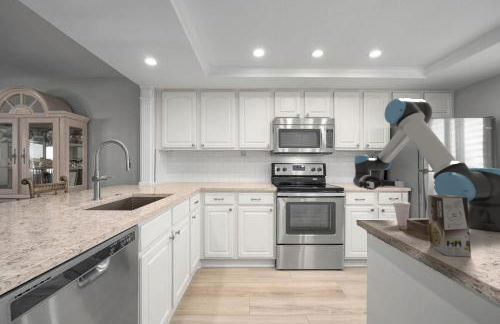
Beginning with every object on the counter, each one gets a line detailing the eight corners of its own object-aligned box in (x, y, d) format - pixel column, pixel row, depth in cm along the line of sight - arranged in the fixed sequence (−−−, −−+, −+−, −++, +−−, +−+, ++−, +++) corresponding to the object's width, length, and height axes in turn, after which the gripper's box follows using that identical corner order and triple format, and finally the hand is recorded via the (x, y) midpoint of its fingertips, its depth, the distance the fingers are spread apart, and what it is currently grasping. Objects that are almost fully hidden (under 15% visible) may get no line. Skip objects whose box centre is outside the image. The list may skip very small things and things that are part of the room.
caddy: (436, 228, 100) (435, 217, 100) (468, 239, 84) (468, 226, 84) (399, 229, 101) (399, 218, 101) (425, 240, 85) (424, 227, 85)
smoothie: (397, 227, 105) (396, 193, 105) (391, 223, 111) (390, 191, 112) (414, 227, 104) (412, 193, 104) (407, 224, 110) (405, 191, 111)
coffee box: (472, 257, 69) (468, 197, 69) (445, 256, 70) (442, 197, 70) (452, 246, 78) (449, 194, 78) (429, 246, 79) (426, 194, 79)
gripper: (392, 188, 139) (415, 192, 118) (346, 189, 141) (361, 193, 119) (392, 174, 139) (415, 176, 118) (345, 176, 141) (360, 177, 120)
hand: (388, 185), depth 119 cm, fingers open, 13 cm apart
